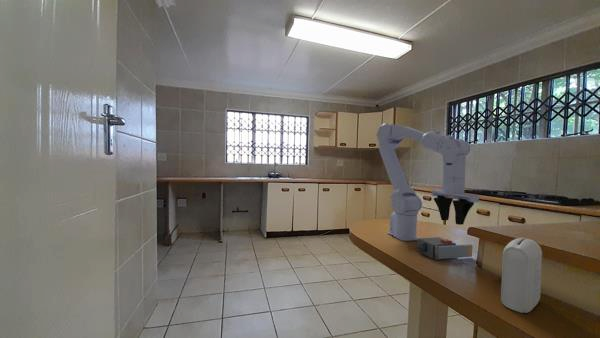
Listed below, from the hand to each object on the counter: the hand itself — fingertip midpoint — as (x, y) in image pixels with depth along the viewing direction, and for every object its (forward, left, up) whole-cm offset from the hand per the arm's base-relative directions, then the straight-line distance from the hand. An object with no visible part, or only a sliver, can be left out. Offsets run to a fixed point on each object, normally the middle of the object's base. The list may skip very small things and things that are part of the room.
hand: (451, 222), depth 70 cm
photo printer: (+25, -10, -10) cm, 28 cm away
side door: (+4, -4, -9) cm, 11 cm away
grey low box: (+1, -6, -9) cm, 11 cm away
